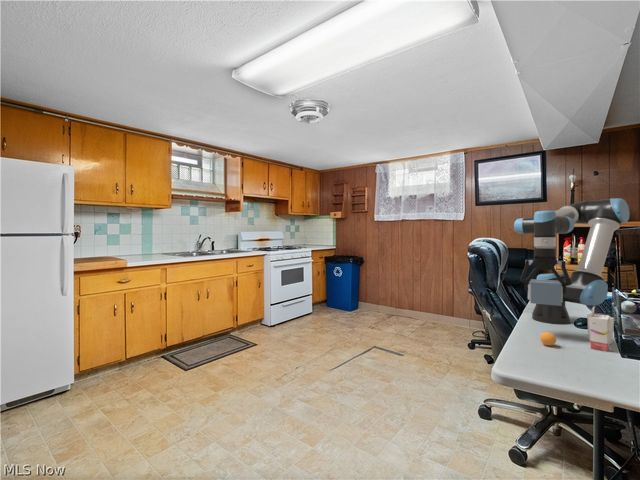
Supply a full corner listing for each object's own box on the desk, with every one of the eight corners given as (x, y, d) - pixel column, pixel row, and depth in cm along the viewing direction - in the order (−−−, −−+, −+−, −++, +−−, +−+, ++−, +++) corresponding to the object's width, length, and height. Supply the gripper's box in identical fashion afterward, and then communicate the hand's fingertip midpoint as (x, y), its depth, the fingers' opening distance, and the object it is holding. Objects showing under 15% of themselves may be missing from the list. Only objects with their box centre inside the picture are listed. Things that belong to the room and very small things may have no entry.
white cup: (603, 339, 128) (603, 314, 128) (619, 345, 120) (619, 319, 120) (582, 338, 129) (582, 313, 129) (596, 345, 121) (597, 318, 121)
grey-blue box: (529, 298, 140) (529, 279, 140) (558, 301, 135) (558, 280, 135) (530, 303, 131) (530, 282, 131) (561, 305, 126) (561, 283, 126)
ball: (539, 342, 124) (539, 329, 124) (555, 344, 122) (555, 331, 122) (540, 346, 120) (540, 333, 120) (557, 348, 118) (557, 335, 117)
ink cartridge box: (608, 352, 114) (608, 311, 114) (590, 348, 117) (590, 308, 117) (610, 346, 120) (610, 307, 120) (592, 343, 123) (592, 305, 123)
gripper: (513, 247, 136) (513, 299, 136) (581, 248, 124) (581, 304, 124) (512, 247, 142) (512, 296, 142) (577, 247, 131) (577, 301, 131)
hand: (544, 300), depth 133 cm, fingers closed on grey-blue box, 10 cm apart
